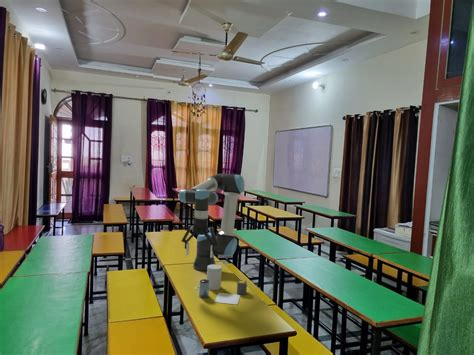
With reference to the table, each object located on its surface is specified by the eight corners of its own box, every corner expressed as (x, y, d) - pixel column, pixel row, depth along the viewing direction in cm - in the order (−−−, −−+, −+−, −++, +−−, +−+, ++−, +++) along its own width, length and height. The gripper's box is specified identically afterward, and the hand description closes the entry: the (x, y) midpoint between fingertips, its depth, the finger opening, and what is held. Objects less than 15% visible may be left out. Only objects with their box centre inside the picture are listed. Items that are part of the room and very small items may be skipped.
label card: (195, 286, 194) (195, 286, 194) (204, 287, 193) (204, 287, 193) (194, 288, 191) (194, 288, 191) (203, 289, 190) (203, 289, 190)
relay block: (236, 291, 191) (237, 280, 190) (245, 291, 191) (246, 280, 191) (237, 294, 186) (237, 283, 185) (246, 295, 186) (246, 283, 186)
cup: (218, 290, 190) (219, 269, 189) (204, 288, 191) (205, 268, 191) (222, 285, 198) (223, 265, 197) (208, 283, 199) (209, 263, 199)
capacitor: (200, 293, 184) (201, 278, 184) (209, 294, 183) (210, 279, 183) (198, 297, 179) (198, 282, 179) (207, 298, 178) (208, 283, 178)
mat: (218, 293, 186) (218, 292, 186) (240, 295, 184) (240, 295, 184) (214, 302, 174) (214, 301, 174) (237, 304, 172) (237, 304, 172)
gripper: (177, 217, 184) (175, 255, 185) (222, 220, 180) (220, 260, 181) (181, 214, 191) (179, 252, 192) (224, 218, 187) (222, 256, 189)
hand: (199, 255), depth 187 cm, fingers open, 13 cm apart
